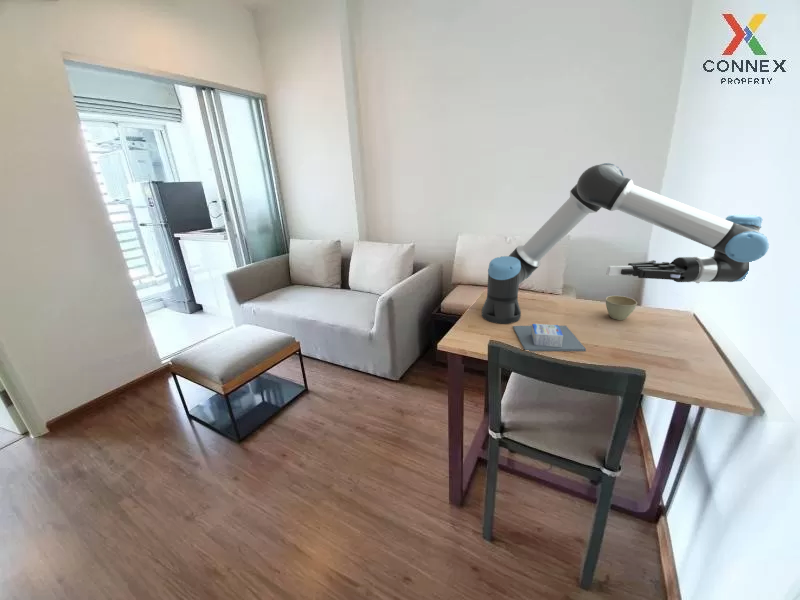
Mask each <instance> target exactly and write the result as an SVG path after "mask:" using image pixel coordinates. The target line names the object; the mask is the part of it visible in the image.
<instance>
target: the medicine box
mask: <svg viewBox="0 0 800 600" xmlns="http://www.w3.org/2000/svg"><path fill="white" fill-rule="evenodd" d="M531 326H532V330H531V335H532V338H533V342H534V345H537V346H552V347H562V342H563V334H562V332H561V330H560V327H559V326H560V325H558V324H546V323H545V324H544V323H543V324H542V323H541V324H540V323H532V324H531Z"/></svg>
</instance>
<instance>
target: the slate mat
mask: <svg viewBox="0 0 800 600" xmlns="http://www.w3.org/2000/svg"><path fill="white" fill-rule="evenodd" d="M558 326H559V327H560V330H561V332H562V334H563V342H562V347H552V346H537V345H534V342H533V338H532V335H531V330H532V325H513V326H512V328H513V331H514V332H515V334H516V336H517V338H518V340H519V342H520V344H521V346H522V348H523V350H524V349H525V350H529V351H528V352H586V351H587V349H586V347H585V345H583V344H582V343H581V341H580V340H579V339H578V338H577V337H576V335H575V334H574V333H573V332H572V331H571V330H570V329H569V327H568V326H567V325H558ZM525 350H524V351H525Z"/></svg>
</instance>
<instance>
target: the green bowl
mask: <svg viewBox="0 0 800 600" xmlns="http://www.w3.org/2000/svg"><path fill="white" fill-rule="evenodd" d="M637 305H638V301H636V300H635V299H634V298H632V297H629V296H624V295H610V296H609V295H608V296H606V298H605V307H606V310H607V313H608V316H609V317H610V318H611V319H613V320H618V321H623V320H626V319H627V318H628V317H629V316H630V315H631V314H632V313H633V312H634V310H635V309H636V306H637Z"/></svg>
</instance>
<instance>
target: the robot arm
mask: <svg viewBox="0 0 800 600" xmlns="http://www.w3.org/2000/svg"><path fill="white" fill-rule="evenodd" d="M602 208H603V209H605V210H608V211H611V212H613V211H620V212H622V213H625V214H627V215H630V216H632V217H634V218H636V219H640V220H642V221H645V222H647V223H650V224H652V225H654V226H657V227H660V228H662V229H664V230H666V231H669V232H672V233H674V234H676V235H679V236H681V237H684V238H686V239H689V240H691V241H693V242H696V243H698V244H701V245H703V246H705V247H708V248H710V249H712V250H714V253H713V256H683V257H682V256H680V257H679V256H678V257H676V258H675V259H673V260H672V261H671V262H668V261H662V262H657V261H656V260H650V261H649V260H648V261H641V262H632V263H631V262H628V264H627V265H607V269H606V275H607V276H609V277H613V276H614V277H616V276H617V277H618V276H626V277H628V276H629V277H631V276H633V277H637V278H638V279H654V280H670V281H674V282H676V283H691V282H692V283H696V284H699V283H706V282H707V283H708V282H709V283H712V282H714V283H715V282H716V283H718V282H720V283H721V282H724V283H733V282H734V283H735V282H743V281H742V280H743V279H745V277H746V275H747V274H748V271H749V262H752V261H758V260H759V259H762V258H763V257H764V256H765V255H766V254H767V253H768V251H769V248H770V244H769V239H768V238H767V236H766V235H765V234H763V233H762V232H761V231H760V230H761V228H762V223H763V217H761V216H760V215H757V214H756V215H753V214H743V213H742V214H730V215H728V216H726V217H725V219H724V218H722V217H719V216H717V215H714V214H712V213H709V212H707V211H704V210H701V209H698V208H696V207H693V206H691V205H688V204H686V203H683V202H680V201H678V200H675V199H672V198H669V197H667V196H665V195H662V194H659V193H656V192H654V191H651V190H649V189H646V188H644V187H643V188H642V187H641V186H638V185H635V184H634V181H633V179H631V178H628V177H626V176H625V175H624V173H623V171H622V170H621V168H619V166H617V165H615V164H613V163H609V162H607V163H601V164H596V165H595V164H594V165H592V166H590V167H589V168H587V169H585V170H584V171H583V172H582V173H581V174H580V176H579V177H578V180H577V182H576V184H575V185H574V186H573V187H572V188H571V190H570V191H569V198H568V199H567V200H565V202H564V203H563V204H562V205H560V207H558V209H557V211H555V212H554V214H553V215H552V216H551V217H550V218H549V219H548V220H547V221H546V222H545V223H544V224H543V225H542V226H541V227H540V228H539V229H538V230H537V231H536V232H535V233H534V234H533V235H532V236H531V237H530V239H528V240H527V242H526V243H525V244H523V245H518V246H517V247H516V248H515V249H514V250H513V251H511V253H510V254H509V255H504V256H499V257H495V258H493V259H491V260H490V261H489V265H488V270H487V291H486V292H487V293H486V299H485V301H484V304H483V306H482V307H481V316H482V318H483V319H484V320H486V321H487V322H490V323H493V324H500V325H501V324H502V325H507V324H508V325H509V324H514V323H517V322H518V321H520V319H521V316H522V315H521V313H522V311H521V308H520V303H519V300H518V296H519V286H520V284H522V283H523V282H524V281H525V280H526V279H529V277H530V276H531V275H532V274H533V273H534V272H535V271H536V270H537V269H538V268H539V267H540V266H541V260H542V259H543V258H544V257H545V256H546V255H547V254H548V253H549V252H550V251H551V250H552V249H553V248H554V247H555V246H556V245H558V243H560V242H561V241H562V239H564V238H565V237H566V236H567V235H568V234H569V233H570V232H571V231H572V230H573V229H574V228H575V227H577V226H578V224H579V223H580V222H582V221H583V220H584V219H585V218H586V217H587V216H588V215H589V214H592V213H597V212H599V211H600V209H602Z"/></svg>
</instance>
